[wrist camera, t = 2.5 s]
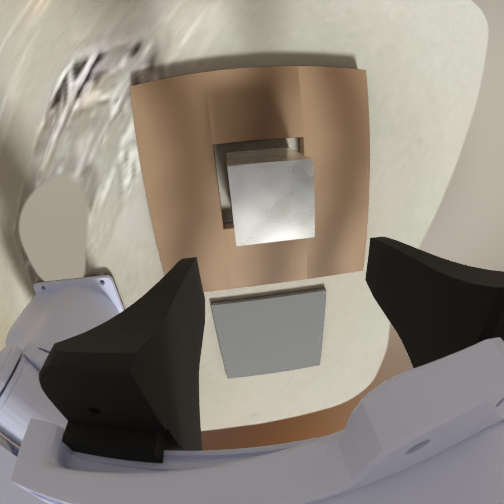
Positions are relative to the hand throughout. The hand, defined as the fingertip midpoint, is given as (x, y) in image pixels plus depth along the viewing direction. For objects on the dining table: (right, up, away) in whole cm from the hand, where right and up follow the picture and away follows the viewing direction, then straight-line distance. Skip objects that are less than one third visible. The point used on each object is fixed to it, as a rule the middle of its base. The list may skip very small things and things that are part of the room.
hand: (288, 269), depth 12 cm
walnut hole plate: (-1, +6, +9) cm, 11 cm away
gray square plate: (0, -8, +15) cm, 17 cm away
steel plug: (-1, +6, +9) cm, 11 cm away
